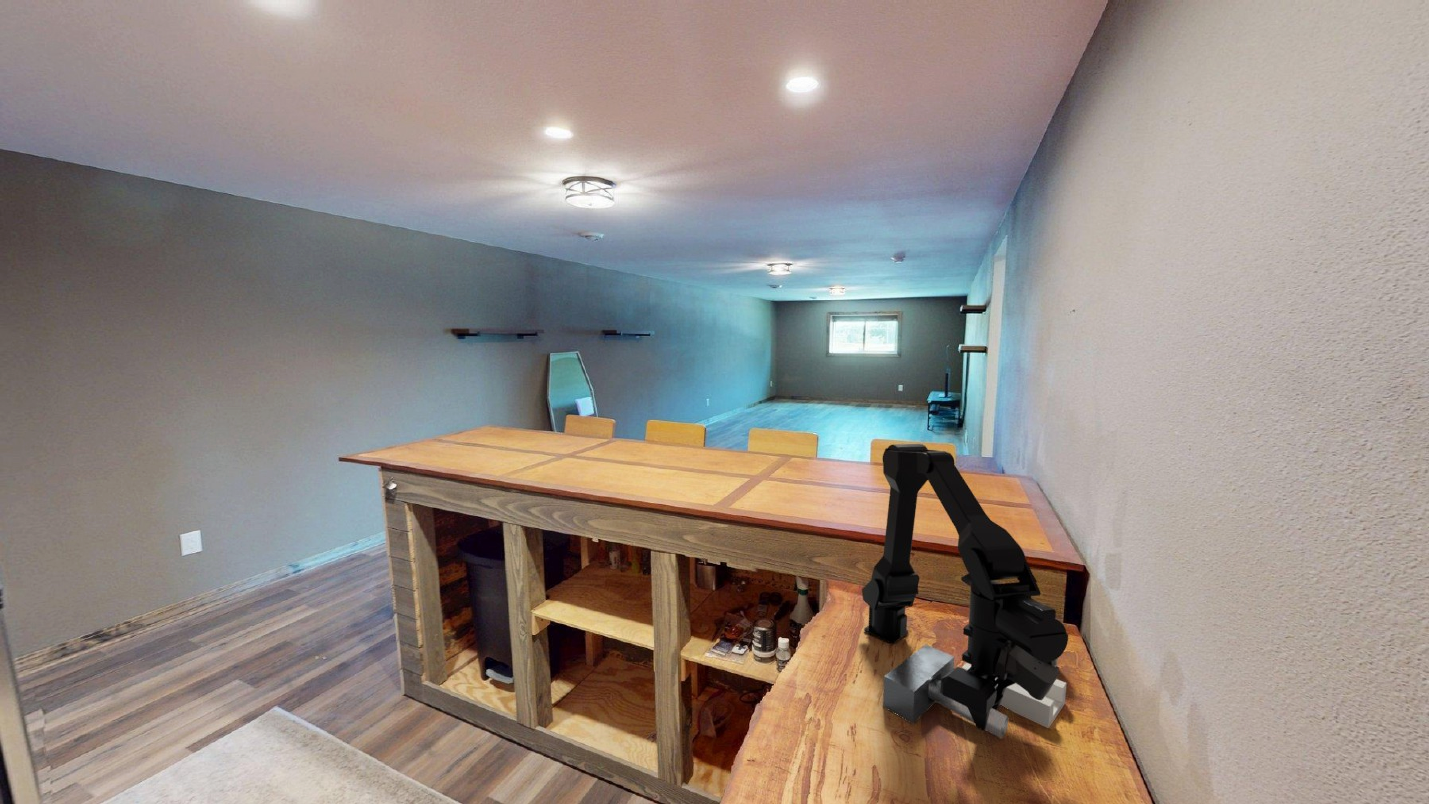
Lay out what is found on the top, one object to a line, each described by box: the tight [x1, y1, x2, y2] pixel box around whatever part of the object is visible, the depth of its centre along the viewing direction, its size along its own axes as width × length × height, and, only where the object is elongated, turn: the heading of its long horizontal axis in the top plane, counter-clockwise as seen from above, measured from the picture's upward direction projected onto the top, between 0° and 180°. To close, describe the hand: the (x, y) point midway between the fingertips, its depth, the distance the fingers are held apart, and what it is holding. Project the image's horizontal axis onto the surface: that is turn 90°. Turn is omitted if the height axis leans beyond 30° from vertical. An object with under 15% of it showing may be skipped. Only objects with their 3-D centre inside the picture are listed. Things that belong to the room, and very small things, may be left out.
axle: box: [928, 678, 1009, 739], centre depth 79 cm, size 12×3×3 cm, turn 41°
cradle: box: [961, 662, 1067, 729], centre depth 85 cm, size 13×9×4 cm, turn 42°
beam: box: [882, 644, 955, 725], centre depth 84 cm, size 5×14×5 cm, turn 132°
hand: (985, 723), depth 77 cm, fingers closed on axle, 3 cm apart
